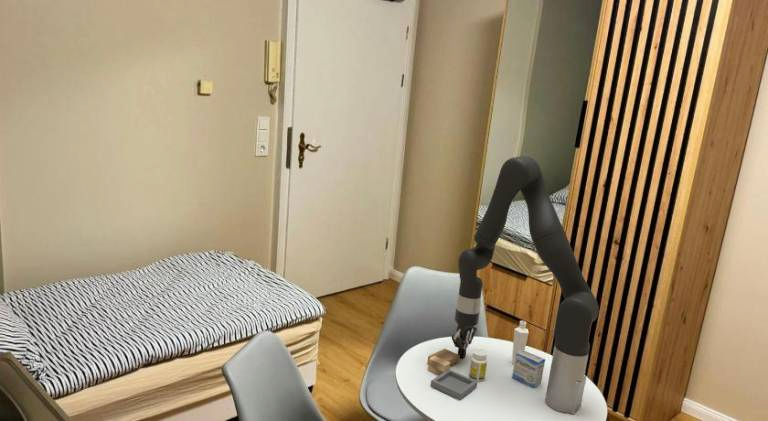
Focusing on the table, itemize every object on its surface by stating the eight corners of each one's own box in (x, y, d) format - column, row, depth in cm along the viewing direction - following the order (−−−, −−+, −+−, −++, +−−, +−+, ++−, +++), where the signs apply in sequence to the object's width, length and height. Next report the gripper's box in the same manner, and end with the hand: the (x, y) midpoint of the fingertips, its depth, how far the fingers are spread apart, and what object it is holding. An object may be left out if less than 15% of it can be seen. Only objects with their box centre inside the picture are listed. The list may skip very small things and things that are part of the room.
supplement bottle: (483, 374, 170) (487, 350, 169) (485, 382, 166) (488, 357, 164) (468, 372, 171) (472, 348, 169) (469, 380, 166) (472, 355, 164)
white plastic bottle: (508, 360, 182) (515, 318, 179) (521, 362, 181) (528, 320, 178) (509, 366, 177) (516, 323, 174) (523, 368, 177) (530, 325, 174)
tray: (476, 387, 162) (477, 381, 162) (459, 400, 154) (460, 394, 154) (448, 375, 168) (448, 369, 168) (430, 386, 160) (431, 380, 160)
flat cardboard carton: (458, 363, 177) (459, 355, 176) (442, 372, 170) (443, 363, 169) (443, 356, 180) (444, 348, 180) (427, 364, 174) (428, 356, 173)
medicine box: (511, 378, 170) (515, 352, 168) (518, 374, 173) (522, 348, 171) (534, 389, 165) (538, 362, 163) (541, 384, 168) (545, 358, 166)
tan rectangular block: (449, 374, 168) (450, 362, 168) (443, 377, 166) (445, 365, 165) (432, 367, 172) (434, 355, 171) (427, 370, 170) (428, 358, 169)
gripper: (467, 317, 167) (460, 369, 171) (488, 306, 177) (481, 355, 181) (447, 309, 171) (440, 360, 175) (468, 299, 182) (461, 347, 185)
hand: (461, 357), depth 178 cm, fingers closed
